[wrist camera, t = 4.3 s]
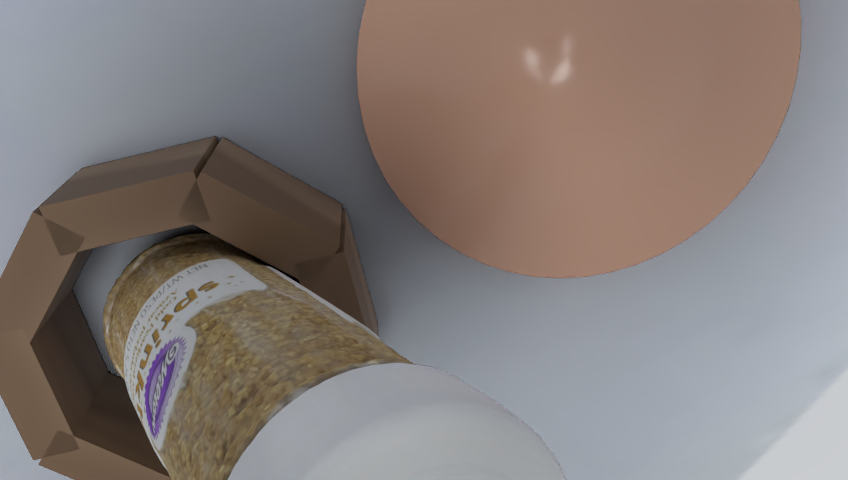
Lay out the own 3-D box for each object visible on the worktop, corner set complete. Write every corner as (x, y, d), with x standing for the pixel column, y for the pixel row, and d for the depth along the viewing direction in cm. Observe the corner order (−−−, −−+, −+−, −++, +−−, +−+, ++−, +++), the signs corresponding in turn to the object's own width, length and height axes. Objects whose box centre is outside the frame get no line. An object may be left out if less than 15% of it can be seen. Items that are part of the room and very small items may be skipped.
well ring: (399, 401, 24) (405, 464, 21) (107, 469, 24) (74, 542, 21) (318, 111, 20) (312, 141, 18) (-21, 192, 21) (-80, 235, 18)
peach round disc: (795, 214, 23) (809, 224, 22) (411, 305, 23) (413, 319, 22) (772, -226, 18) (790, -231, 18) (304, -111, 19) (301, -113, 18)
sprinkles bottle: (101, 231, 20) (256, 432, 8) (280, 231, 22) (606, 389, 10) (99, 410, 21) (239, 832, 9) (273, 392, 23) (573, 714, 11)
